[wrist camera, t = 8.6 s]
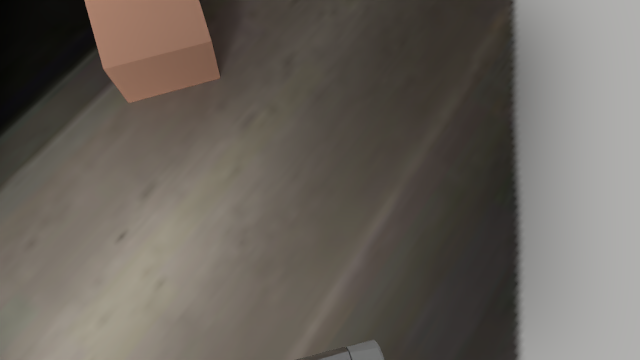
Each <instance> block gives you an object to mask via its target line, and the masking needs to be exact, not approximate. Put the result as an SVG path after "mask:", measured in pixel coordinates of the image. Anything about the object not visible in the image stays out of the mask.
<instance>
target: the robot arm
mask: <svg viewBox="0 0 640 360" xmlns="http://www.w3.org/2000/svg"><path fill="white" fill-rule="evenodd" d="M296 360H385V359H384V357H383V355H382V352H381V350H380V347H379V345H378V344H377V343H376V342H375V340H371V341H367V342H363V343H359V344H356V345H352V346H348V347H346V348H345V347H341V348H337V349H333V350H330V351H326V352H322V353H319V354H315V355H311V356H307V357H304V358H300V359H296Z"/></svg>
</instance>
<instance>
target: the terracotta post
mask: <svg viewBox="0 0 640 360" xmlns="http://www.w3.org/2000/svg"><path fill="white" fill-rule="evenodd" d="M85 4H86V7H87V11H88V15H89V18H90V22H91V26H92V29H93V33H94V37H95V40H96V44H97V48H98V51H99V55H100V59H101V62H102V66H103V69H104V71H105V72H106V73H107V75H108V76H109V77H110V79H111V80H112V81H113V83H114V84H115V85H116V87H117V88H118V89H119V91H120V92H121V93H122V95H123V96H124V97H125V99H126V100H127V101H128V103H131V102H135V101H138V100H142V99H146V98H149V97H153V96H157V95H160V94H164V93H168V92H172V91H175V90H179V89H183V88H186V87H190V86H194V85H198V84H201V83H205V82H209V81H212V80H216V79H220V75H219V70H218V66H217V62H216V58H215V53H214V49H213V45H212V41H211V37H210V34H209V31H208V28H207V24H206V21H205V18H204V15H203V12H202V8H201V5H200V2H199V0H85Z"/></svg>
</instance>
